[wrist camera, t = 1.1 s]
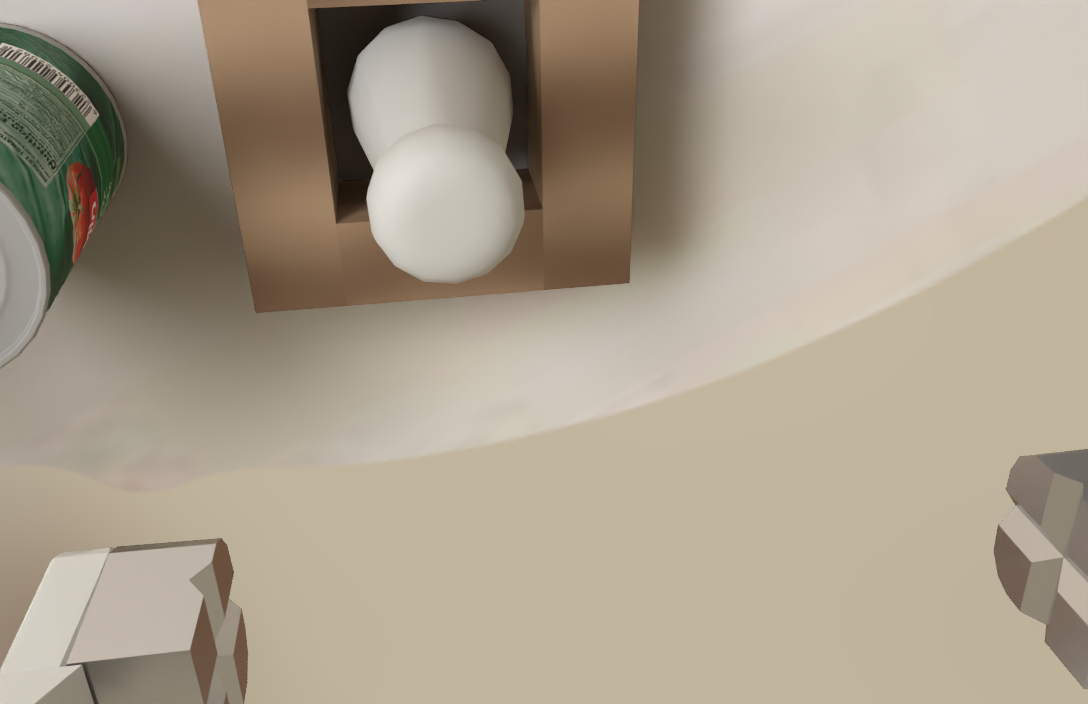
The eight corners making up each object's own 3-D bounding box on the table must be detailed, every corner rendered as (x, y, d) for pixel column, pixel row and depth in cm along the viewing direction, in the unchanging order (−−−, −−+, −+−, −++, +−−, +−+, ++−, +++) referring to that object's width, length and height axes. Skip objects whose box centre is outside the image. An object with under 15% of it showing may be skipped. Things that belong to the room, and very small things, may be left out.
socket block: (198, -119, 33) (178, -102, 30) (616, -132, 35) (643, -118, 31) (265, 264, 40) (255, 312, 37) (608, 239, 42) (629, 283, 39)
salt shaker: (478, -21, 36) (524, 86, 25) (524, 127, 39) (584, 280, 28) (323, 32, 36) (301, 161, 25) (381, 174, 39) (385, 345, 28)
